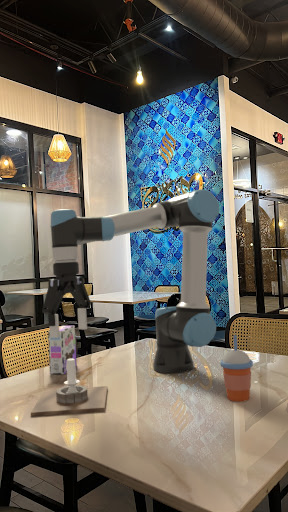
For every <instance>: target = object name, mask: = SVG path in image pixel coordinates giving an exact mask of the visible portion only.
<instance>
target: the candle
mask: <svg viewBox="0 0 288 512" xmlns="http://www.w3.org/2000/svg"><path fill="white" fill-rule="evenodd" d="M66 363H67V365H66V370H67V372H66V377H67V380H66V381H64V382H63V384H65V385H66V386H69V389H68V391H67V393H76V392H78V391H77V389H76V387H75V385H79V383H80V382H81V381H80V380H79V379H77V373H76V369H77V367H76V366H75V359H71V358H70V359H67V362H66Z"/></svg>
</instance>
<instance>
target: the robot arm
mask: <svg viewBox="0 0 288 512" xmlns="http://www.w3.org/2000/svg"><path fill="white" fill-rule="evenodd" d="M219 214H220V202H218V199H217V197H216V196H214V194H213V193H212V192H211V191H209V190H208V189H204V188H203V189H202V188H201V189H197V190H196V189H194V190H192V191H189V192H186V193H182V194H179V195H176V196H174V197H172V198H170V199H167V200H164V201H161V202H160V201H159V202H156V203H154V204H153V205H152V206H150V207H146V208H145V207H144V208H140V209H136V210H131V211H127V212H125V211H124V212H120V213H116V214H112V215H110V214H109V215H107V216H77V213H76V210H74V209H69V208H67V209H65V208H64V209H55V210H53V211H52V212H51V213H50V232H51V234H50V235H51V249H52V261H53V262H54V263H53V264H52V268H53V270H52V271H53V275H54V277H55V276H56V277H55V279H54V278H52V279H51V278H50V279H48V283H47V285H48V287H47V291H46V295H45V298H44V302H43V306H42V310H41V313H43V314H44V315H47V318H48V319H47V321H48V326H49V331H50V337H52V338H59V327H60V325H59V324H60V323H59V314H58V310H59V307H60V305H61V302H62V300H63V298H64V296H66V294H70V295H71V296H72V298H73V299H74V301H75V302H76V304H77V305H78V308H77V321H78V323H77V325H78V330H88V321H87V318H88V313H87V312H88V311H87V309H89V308H90V307H91V300H90V297H89V294H88V291H87V289H86V285H85V283H84V276H77V275H79V273H80V267H79V266H80V264H79V262H78V260H79V249H78V245H79V246H80V245H84V244H87V243H88V244H89V243H93V242H107V241H108V242H109V241H112V240H113V239H114V237H118V236H122V235H126V234H127V235H128V234H131V233H135V232H139V231H140V232H141V231H145V230H148V229H153V228H158V229H161V230H162V229H167V228H173V227H174V228H175V227H176V228H177V227H178V229H179V230H180V231H181V233H182V255H181V256H182V260H181V261H182V263H181V290H180V292H181V293H180V301H179V303H178V304H177V305H176V306H167V307H160V308H156V310H155V316H154V321H155V333H156V336H155V338H156V350H155V354H154V359H153V362H152V364H153V366H152V369H153V371H155V372H158V373H163V374H178V373H180V374H181V373H185V372H189V371H191V370H193V369H194V367H195V365H194V360H193V357H192V355H191V351H190V349H189V347H192V348H193V347H195V348H196V347H197V348H202V347H205V346H207V345H208V344H210V342H211V341H212V340H213V339H214V337H215V335H216V332H217V324H216V321H215V319H214V318H213V316H212V315H211V311H210V310H211V307H210V305H208V303H207V302H206V299H207V270H208V269H207V268H208V265H207V264H208V235H209V233H210V232H211V231H212V230H213V222H214V221H215V220H216V219H217V218H218V216H219Z"/></svg>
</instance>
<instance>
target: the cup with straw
mask: <svg viewBox="0 0 288 512" xmlns="http://www.w3.org/2000/svg"><path fill="white" fill-rule="evenodd" d="M232 336H233V349H232V350H231V349H230V350H228V351H227V352H226V353H225V354H224V356H223V357H222V359H221V360H220V366H221V367H222V370H223V371H222V373H223V374H222V375H223V381H224V387H225V390H226V397H227V399H228V400H229V401H230V402H235V403H237V402H238V403H239V402H246V401H249V400H250V393H251V386H252V385H251V384H252V383H251V382H252V371H251V368H252V367H253V365H254V361H253V360H252V359H251V358H250V356H249V355H248V353H246V352H245V351H244V350H240V349H238V337H237V334H234V335H232Z"/></svg>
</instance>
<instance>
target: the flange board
mask: <svg viewBox="0 0 288 512" xmlns="http://www.w3.org/2000/svg"><path fill="white" fill-rule="evenodd" d="M75 387H76V389H77V391H78V392H76V393H67V391H68V389H69V386H68V385H66V386H63V387H60V388H57V389H45V390H43V392H42V393H41V395H40V397H39V398H38V401H36V403H35V405H34V406H33V408H32V410H31V411H30V417H39V416H55V415H57V416H58V415H71V414H82V413H83V414H84V413H98V412H99V413H100V412H106V404H107V396H108V385H105V386H90V387H89V386H88V387H87V386H85V385H80V384H76V385H75Z"/></svg>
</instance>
